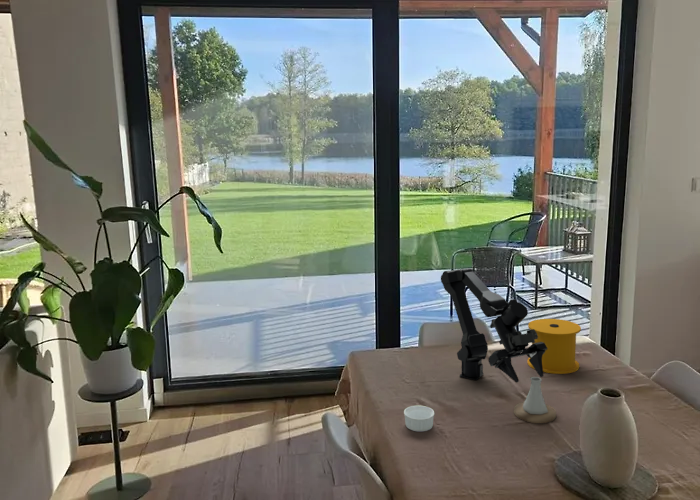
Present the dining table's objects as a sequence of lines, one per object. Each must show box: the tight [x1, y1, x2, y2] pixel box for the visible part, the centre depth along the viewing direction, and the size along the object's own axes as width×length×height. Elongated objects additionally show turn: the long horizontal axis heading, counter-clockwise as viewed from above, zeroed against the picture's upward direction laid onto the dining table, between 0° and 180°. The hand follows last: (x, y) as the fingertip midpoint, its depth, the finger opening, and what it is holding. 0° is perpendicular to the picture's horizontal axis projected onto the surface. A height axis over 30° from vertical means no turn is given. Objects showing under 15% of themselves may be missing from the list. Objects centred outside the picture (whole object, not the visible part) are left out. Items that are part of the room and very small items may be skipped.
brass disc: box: [513, 401, 557, 424], centre depth 174 cm, size 12×12×1 cm
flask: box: [523, 376, 548, 415], centre depth 173 cm, size 7×7×10 cm
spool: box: [526, 318, 582, 375], centre depth 211 cm, size 18×18×15 cm
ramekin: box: [403, 405, 435, 433], centre depth 169 cm, size 9×9×4 cm
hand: (530, 379), depth 175 cm, fingers open, 9 cm apart
